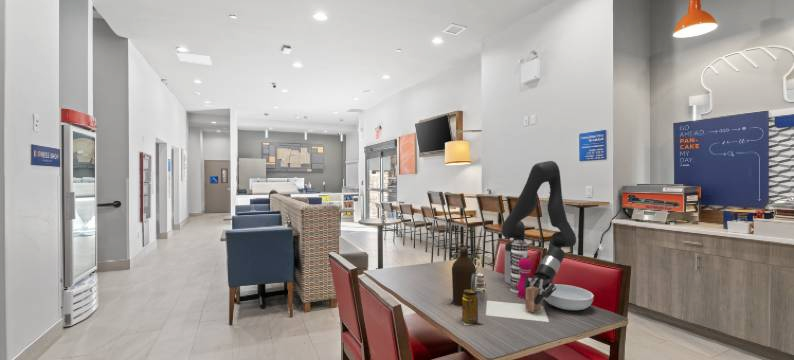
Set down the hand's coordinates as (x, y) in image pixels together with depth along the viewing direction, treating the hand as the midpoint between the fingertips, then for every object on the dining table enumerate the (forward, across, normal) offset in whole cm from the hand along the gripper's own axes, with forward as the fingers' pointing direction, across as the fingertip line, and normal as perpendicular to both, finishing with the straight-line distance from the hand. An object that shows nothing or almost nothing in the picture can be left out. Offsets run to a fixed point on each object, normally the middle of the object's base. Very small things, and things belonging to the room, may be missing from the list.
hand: (530, 301), depth 150 cm
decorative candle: (-12, -22, +20) cm, 32 cm away
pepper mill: (-7, -14, +15) cm, 22 cm away
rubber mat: (+6, -5, +2) cm, 8 cm away
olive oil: (+14, -24, -6) cm, 29 cm away
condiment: (+22, -8, -14) cm, 28 cm away
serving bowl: (-11, +3, +19) cm, 22 cm away
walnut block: (+1, 0, +4) cm, 4 cm away
